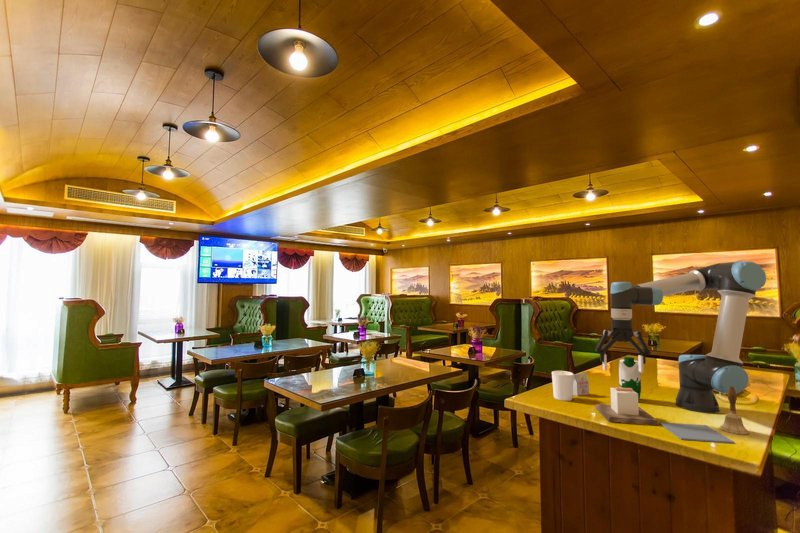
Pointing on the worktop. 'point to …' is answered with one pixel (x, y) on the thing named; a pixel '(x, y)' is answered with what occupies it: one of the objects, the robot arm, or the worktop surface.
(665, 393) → the worktop surface
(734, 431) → the hand bell
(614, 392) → the white cubic block
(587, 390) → the tea bag
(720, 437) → the mat
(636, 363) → the milk carton
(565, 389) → the candle holder
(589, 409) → the worktop surface
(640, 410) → the post stand
